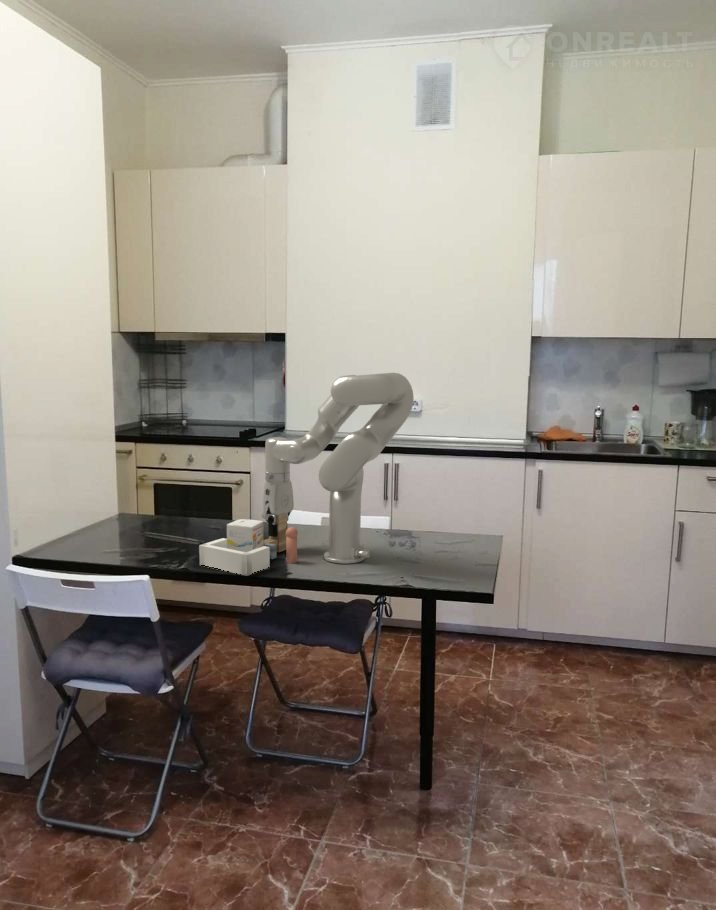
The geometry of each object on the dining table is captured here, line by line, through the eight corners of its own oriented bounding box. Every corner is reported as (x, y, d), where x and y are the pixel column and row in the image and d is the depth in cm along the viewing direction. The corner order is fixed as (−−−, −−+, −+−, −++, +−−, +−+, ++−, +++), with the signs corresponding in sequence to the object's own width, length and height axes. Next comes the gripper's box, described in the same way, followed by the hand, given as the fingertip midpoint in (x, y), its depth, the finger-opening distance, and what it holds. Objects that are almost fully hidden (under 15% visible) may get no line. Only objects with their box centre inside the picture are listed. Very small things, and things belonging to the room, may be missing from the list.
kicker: (294, 550, 227) (294, 507, 225) (272, 559, 218) (272, 513, 216) (269, 546, 232) (269, 503, 230) (246, 553, 223) (246, 509, 221)
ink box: (252, 565, 212) (252, 526, 210) (226, 562, 214) (225, 524, 212) (264, 557, 220) (264, 520, 218) (239, 555, 222) (238, 517, 221)
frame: (269, 567, 210) (269, 547, 210) (247, 575, 202) (246, 555, 201) (222, 557, 220) (222, 538, 219) (199, 565, 211) (199, 545, 211)
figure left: (300, 561, 217) (300, 526, 215) (292, 564, 214) (292, 529, 212) (290, 559, 219) (290, 525, 217) (283, 562, 216) (283, 527, 214)
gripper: (269, 482, 216) (269, 542, 218) (303, 474, 230) (303, 531, 232) (250, 479, 220) (250, 538, 222) (285, 472, 234) (285, 527, 236)
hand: (277, 534), depth 227 cm, fingers closed on kicker, 4 cm apart
